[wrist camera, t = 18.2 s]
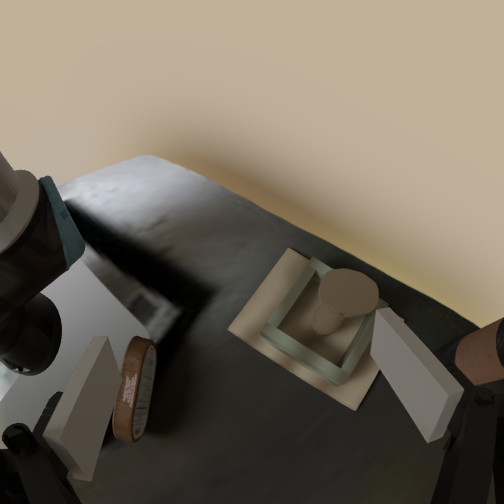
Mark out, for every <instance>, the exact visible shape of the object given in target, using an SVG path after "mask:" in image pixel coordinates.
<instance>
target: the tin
mask: <svg viewBox="0 0 504 504" xmlns="http://www.w3.org/2000/svg"><path fill="white" fill-rule="evenodd" d="M156 366H157V347H156V345H155V343H154V342H153V341H152V340H151V339H146V338H142V337H139V336H134V337H133V338H132V339H131V341H130V343H129V345H128V347H127V349H126V352H125V355H124V360H123V364H122V369H121V376H122V379H123V381H122V383H121V386H120V389H119V392H118V395H117V398H116V401H115V407H114V413H113V432H114V435H115V437H116V438H117V439H119V440H124V441H128V442H131V443H135V442H137V441H138V440H139V439H140V438H141V437H142V435H143V433H144V430H145V427H146V423H147V419H148V413H149V407H150V402H151V396H152V391H153V385H154V379H155V373H156Z"/></svg>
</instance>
